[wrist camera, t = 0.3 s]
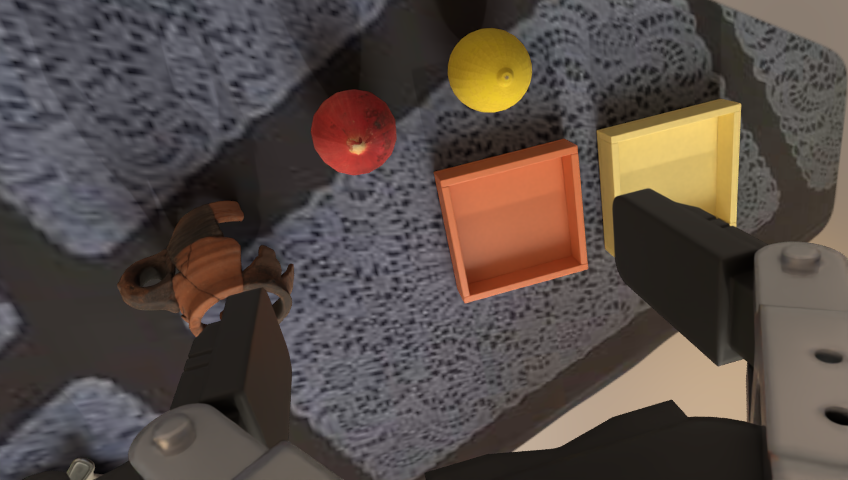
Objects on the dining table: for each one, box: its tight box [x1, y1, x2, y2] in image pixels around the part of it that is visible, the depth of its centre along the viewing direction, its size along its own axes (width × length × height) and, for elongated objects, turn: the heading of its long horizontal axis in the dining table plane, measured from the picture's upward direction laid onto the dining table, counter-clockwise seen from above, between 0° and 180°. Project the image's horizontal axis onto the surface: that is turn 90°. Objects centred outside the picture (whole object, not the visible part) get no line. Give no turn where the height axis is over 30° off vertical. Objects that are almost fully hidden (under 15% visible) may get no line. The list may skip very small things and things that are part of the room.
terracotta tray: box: [434, 139, 588, 303], centre depth 46 cm, size 11×11×2 cm
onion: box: [311, 89, 396, 175], centre depth 38 cm, size 6×6×8 cm
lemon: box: [448, 28, 532, 112], centre depth 38 cm, size 6×6×8 cm
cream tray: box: [597, 99, 741, 257], centre depth 48 cm, size 11×11×2 cm
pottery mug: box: [117, 201, 294, 337], centre depth 42 cm, size 12×10×8 cm
